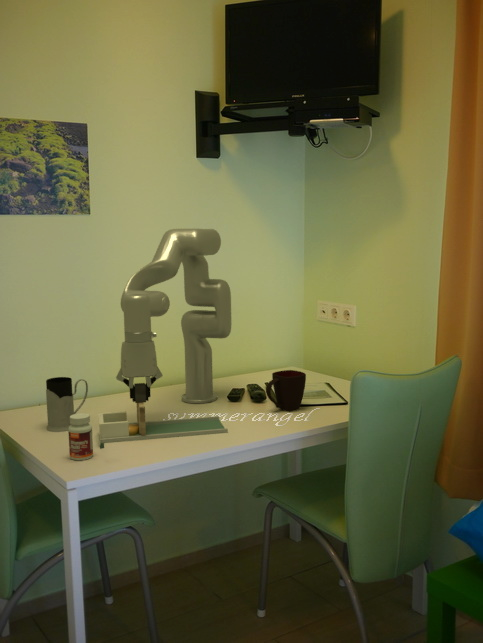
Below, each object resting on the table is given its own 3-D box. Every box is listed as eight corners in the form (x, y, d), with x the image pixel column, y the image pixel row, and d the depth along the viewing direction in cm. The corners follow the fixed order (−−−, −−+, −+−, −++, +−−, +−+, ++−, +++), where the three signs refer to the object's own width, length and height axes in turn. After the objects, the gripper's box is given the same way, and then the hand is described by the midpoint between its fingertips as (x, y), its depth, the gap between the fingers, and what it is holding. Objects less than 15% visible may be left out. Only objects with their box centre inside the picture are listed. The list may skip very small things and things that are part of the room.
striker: (134, 424, 198) (132, 379, 197) (144, 423, 199) (143, 378, 197) (138, 438, 185) (136, 390, 183) (148, 437, 186) (147, 389, 184)
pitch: (99, 433, 196) (98, 412, 196) (218, 423, 204) (218, 403, 203) (100, 448, 183) (99, 425, 182) (227, 437, 191) (227, 415, 190)
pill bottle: (69, 461, 173) (66, 419, 171) (70, 453, 179) (68, 413, 177) (93, 459, 174) (91, 418, 173) (93, 452, 180) (91, 411, 179)
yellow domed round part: (119, 432, 193) (119, 425, 192) (136, 429, 195) (135, 423, 194) (123, 436, 188) (123, 430, 188) (140, 434, 190) (140, 427, 190)
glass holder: (41, 427, 203) (38, 380, 200) (81, 417, 213) (79, 372, 211) (56, 433, 197) (53, 384, 194) (96, 423, 207) (94, 376, 205)
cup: (310, 409, 219) (310, 374, 217) (277, 416, 211) (276, 380, 209) (291, 403, 227) (291, 369, 225) (258, 410, 219) (258, 374, 217)
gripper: (165, 333, 194) (167, 395, 196) (108, 336, 190) (110, 399, 193) (168, 338, 186) (170, 401, 189) (109, 341, 183) (112, 405, 185)
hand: (140, 399), depth 191 cm, fingers closed on striker, 3 cm apart
